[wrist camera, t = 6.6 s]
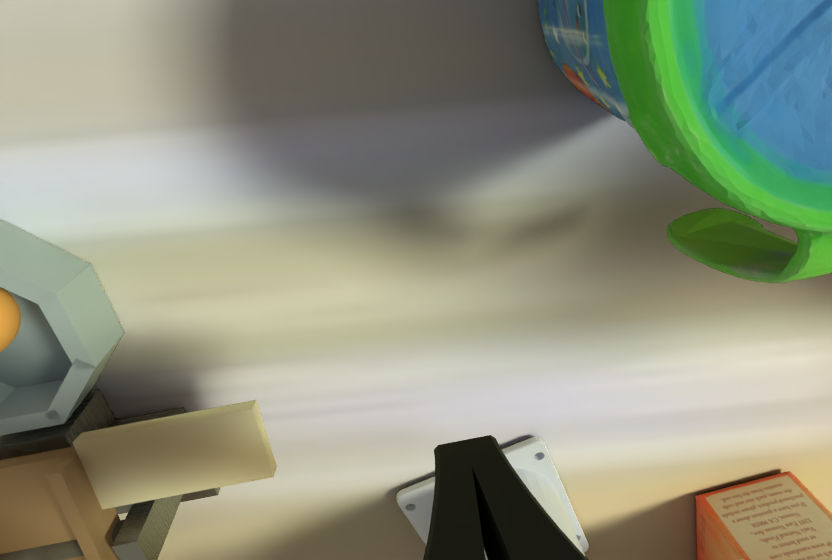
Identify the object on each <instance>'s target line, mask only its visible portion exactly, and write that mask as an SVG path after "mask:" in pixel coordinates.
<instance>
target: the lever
mask: <svg viewBox="0 0 832 560" xmlns="http://www.w3.org/2000/svg"><path fill="white" fill-rule="evenodd" d="M72 443H73V445H74V447H68V448H63V449H58V450H52V451H47V452H42V453H36V454H31V455H26V456H21V457H15V458H10V459H5V460H0V560H120V559H119V557H118V556H117V554H116V553H115V551H114V550H113V548H112V545H113V543H114V541H115V539H116V537H117V535H118V533H119V531H120V529H121V527H122V525H123V523H124V521H125V520H121V521H120V519H119V516H118V514H117V512H116V509H115V507H118V506H123V505H129V504H134V503H139V502H144V501H150V500H155V499H160V498H165V497H171V496H176V495H181V494H186V493H191V492H197V491H202V490H207V489H212V488H218V487H223V486H228V485H233V484H238V483H244V482H249V481H254V480H259V479H265V478H270V477H274V473H275V470H276V467H277V466H276V463H275V460H274V456H273V453H272V450H271V447H270V443H269V440H268V437H267V433H266V430H265V427H264V424H263V420H262V417H261V414H260V410H259V407H258V404H257V401H256V400H253V401H248V402H243V403H237V404H232V405H227V406H221V407H216V408H211V409H205V410H200V411H195V412H189V413H184V414H179V415H173V416H168V417H163V418H157V419H152V420H147V421H141V422H136V423H131V424H125V425H120V426H115V427H109V428H104V429H99V430H93V431H88V432H83V433H81V434H80V435H79V436H78V437H77V438H76V439H75V440H74V441H73V442H72Z"/></svg>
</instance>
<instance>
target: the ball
mask: <svg viewBox="0 0 832 560" xmlns="http://www.w3.org/2000/svg"><path fill="white" fill-rule="evenodd" d="M20 324H21V313H20V309H19V306H18V304H17V302H16V300H15V299H14V297H13V296H12V295H11V294H10V293H9V292H8V291H7V290H5V289H4V288H2V287H0V352H1V351H3V350H4V349H5V348H6V347H8V346H9V345H10V343H11V342H12V341H13V340H14V338H15V337H16V335H17V333H18V331H19V328H20Z"/></svg>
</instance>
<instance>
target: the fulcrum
mask: <svg viewBox="0 0 832 560" xmlns="http://www.w3.org/2000/svg"><path fill="white" fill-rule="evenodd" d="M184 413H186V412H185V409H184V407H183V408H178V409H173V410H167V411H162V412H157V413H151V414H146V415H141V416H135V417H130V418H125V419H119V420H114V419H115V417H114V416H113V414H112V412H111V410H110V408H109V407H108V405H107V403H106V401H105V399H104V398H103V396H102V394H101V392H100V390H95V391H90V392H89V393H88V394H87V395H86V396H85V398H84V399H83V400H82V402H81V403H80V404H79V405H78V407H77V408H76V409H75V410H74V412H73V413H72V414H71V416H70V417H69V418H68V419H67V421H66V422H65V423H64V424H60V425H55V426H49V427H44V428H39V429H33V430H28V431H23V432H17V433H12V434H7V435H1V436H0V460H5V459H10V458H15V457H21V456H26V455H31V454H36V453H42V452H47V451H52V450H58V449H63V448H68V447H74V445H73V443H72V442H73V441H74V440H75V439H76V438H77V437H78V436H79V435H80V434H81V433H83V432H88V431H93V430H99V429H104V428H109V427H115V426H120V425H125V424H131V423H136V422H141V421H147V420H152V419H157V418H163V417H168V416H173V415H179V414H184ZM219 490H220V487H218V488H212V489H207V490H202V491H197V492H191V493H186V494H181V495H176V496H171V497H165V498H160V499H155V500H150V501H144V502H139V503H134V504H129V505H123V506H118V507H115V509H116V512H117V514H121V513H127V512H128V514H127V516H126V518H125V521H124V523H123V525H122V527H121V529H120V531H119V533H118V535H117V537H116V539H115V541H114V543H113V545H112V548H113V550H114V551H115V553H116V554H117V556H118V557H119V559H120V560H157V559H158V557H159V554H160V551H161V549H162V546H163V544H164V541H165V539H166V536H167V534H168V531H169V529H170V526H171V524H172V521H173V519H174V516H175V514H176V511H177V509H178V506H179V503H180V502H184V501H189V500H194V499H200V498H205V497H210V496H215V495H218V493H219Z"/></svg>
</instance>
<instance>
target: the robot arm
mask: <svg viewBox="0 0 832 560" xmlns="http://www.w3.org/2000/svg"><path fill="white" fill-rule="evenodd" d="M539 452H541V453H539ZM537 453H539V454H537ZM434 454H435V476H434V477H432V478H429V479H427V480H424V481H422V482H419V483H417V484H414V485H412V486H409V487H407V488H404V489H402V490H400V491H399V492H398V493H397V496H396V499H397V504H398V505H399V507H400V508H401V510H402V511H403V513H404V514H405V516H406V517H407V518H408V520H409V521H410V523H411V524H412V526H413V527H414V529H415V530H416V532H417V533H418V535H419V536H420V537H421V539H422V540H423V542H424V543H425V545H426V549H425V554H424V559H423V560H588V559H587V558H586V557H585V554H584V552H586V551H587V550H588V548H589V544H588V542H587V540H586V537H585V535H584V533H583V530H582V528H581V526H580V523H579V521H578V519H577V517H576V514H575V512H574V510H573V507H572V505H571V503H570V501H569V498H568V496H567V494H566V491H565V489H564V487H563V484H562V482H561V480H560V478H559V475H558V473H557V471H556V468H555V466H554V464H553V461H552V459H551V457H550V455H549V452H548V450H547V448H546V445H545V443H544V441H543V440H542V439H541V438H539V437H532V438H529V439H527V440H524V441H522V442H519V443H517V444H514V445H512V446H509V447H507V448H504V449H501V448H500V446H499V444H498V442H497V441H496V439H495V438H494V437H492V436H491V435H489V436H484V437H478V438H473V439H468V440H463V441H458V442H452V443H447V444H442V445H438V446H437V447H436V448H435V449H434ZM409 504H410V505H409Z"/></svg>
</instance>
